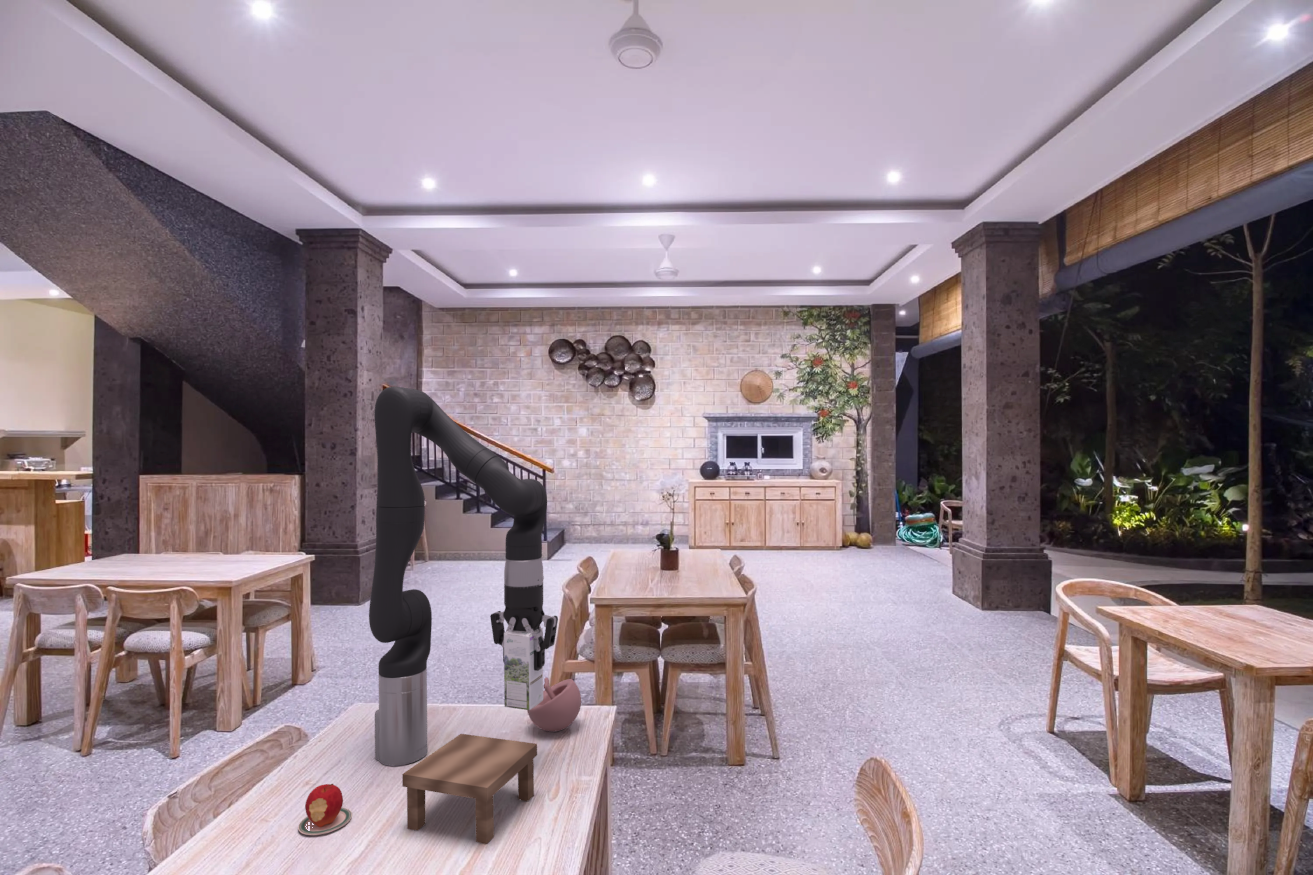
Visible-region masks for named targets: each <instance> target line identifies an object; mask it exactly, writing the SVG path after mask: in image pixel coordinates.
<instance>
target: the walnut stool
mask: <svg viewBox="0 0 1313 875" xmlns="http://www.w3.org/2000/svg"><path fill="white" fill-rule="evenodd" d="M537 756H538V743H533V742H525V741H520V740H512V739H511V740H510V739H503V738H498V737H497V738H495V737H488V736H482V735H474V734H465V733H460V734H458V735H457V736H455V737H454V738H452V739H451V740H450V741H448V742H447V743H445V744H444V745H442V746H441V747H440V748H438V749H436V750H435V751H434V752H432V753H431V754H429V755H427V757H425V758H422V760H421V761H419V762H418V763H416V764H415V765H413V766H412V767H410V768H409V769H408V770H406V771H405V772H404V773H402V774H401V775H402V777H401V778H402V779H401V780H402V781H401V782H402V786H401V787H404V788H406V807H407V808H406V810H407V811H406V813H407V814H406V819H407V821H406V822H407V824H406V826H407V828H406V829H408V830H411V831H419V830H420V829H422V828H423V827H424V826H426V820H427V819H426V818H427V817H426V791H427V792H432V793H437V794H438V793H439V794H444V795H451V796H457V797H464V798H467V799H475V800H474V803H475V806H474V807H475V810H474V812H475V842H476V843H479V844H485V845H487V844H489V842H491V841H492V839H493V838H494V837H495V830H494V828H495V827H494V826H495V824H494V823H495V820H494V819H495V818H494V815H495V812H494V808H495V806H494V795H496V794H497V793H498V792H499V791H500V790H501V789H502V788H503V787H505V785H506V784H507V783H509V782H510V781H511V780H512V779H513V778H514V777H515V776H516V775H517V800H519V801H523V802H529V801H531V799H532V798H534V796H535V787H534V786H535V785H534V784H535V783H534V782H535V777H534V773H535V772H534V770H535V769H534V765H535V764H534V759H535V758H536V757H537Z"/></svg>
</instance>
